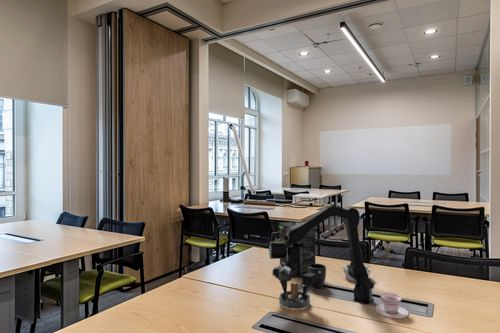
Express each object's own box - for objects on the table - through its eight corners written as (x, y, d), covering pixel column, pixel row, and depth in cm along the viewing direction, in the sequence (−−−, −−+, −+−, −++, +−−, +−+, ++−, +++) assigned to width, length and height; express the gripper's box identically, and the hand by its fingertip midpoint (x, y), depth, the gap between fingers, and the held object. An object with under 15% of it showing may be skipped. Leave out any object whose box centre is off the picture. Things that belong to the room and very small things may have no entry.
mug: (310, 292, 152) (310, 271, 152) (307, 283, 164) (307, 263, 164) (329, 292, 152) (329, 271, 152) (324, 283, 164) (324, 263, 163)
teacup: (381, 303, 140) (381, 288, 140) (412, 311, 132) (412, 295, 132) (370, 313, 131) (370, 297, 131) (403, 322, 123) (403, 305, 123)
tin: (315, 302, 141) (315, 295, 141) (299, 312, 131) (299, 304, 131) (290, 295, 149) (289, 288, 149) (273, 304, 139) (273, 297, 139)
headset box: (279, 263, 196) (278, 219, 196) (297, 261, 200) (297, 217, 199) (295, 275, 174) (295, 225, 174) (316, 273, 178) (316, 224, 178)
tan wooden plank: (298, 301, 141) (298, 282, 141) (294, 303, 138) (294, 284, 138) (294, 300, 142) (294, 281, 142) (290, 302, 139) (290, 283, 139)
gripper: (264, 258, 140) (264, 295, 140) (304, 266, 128) (304, 307, 128) (279, 252, 148) (280, 288, 148) (318, 260, 136) (318, 298, 137)
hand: (294, 295), depth 140 cm, fingers open, 9 cm apart
